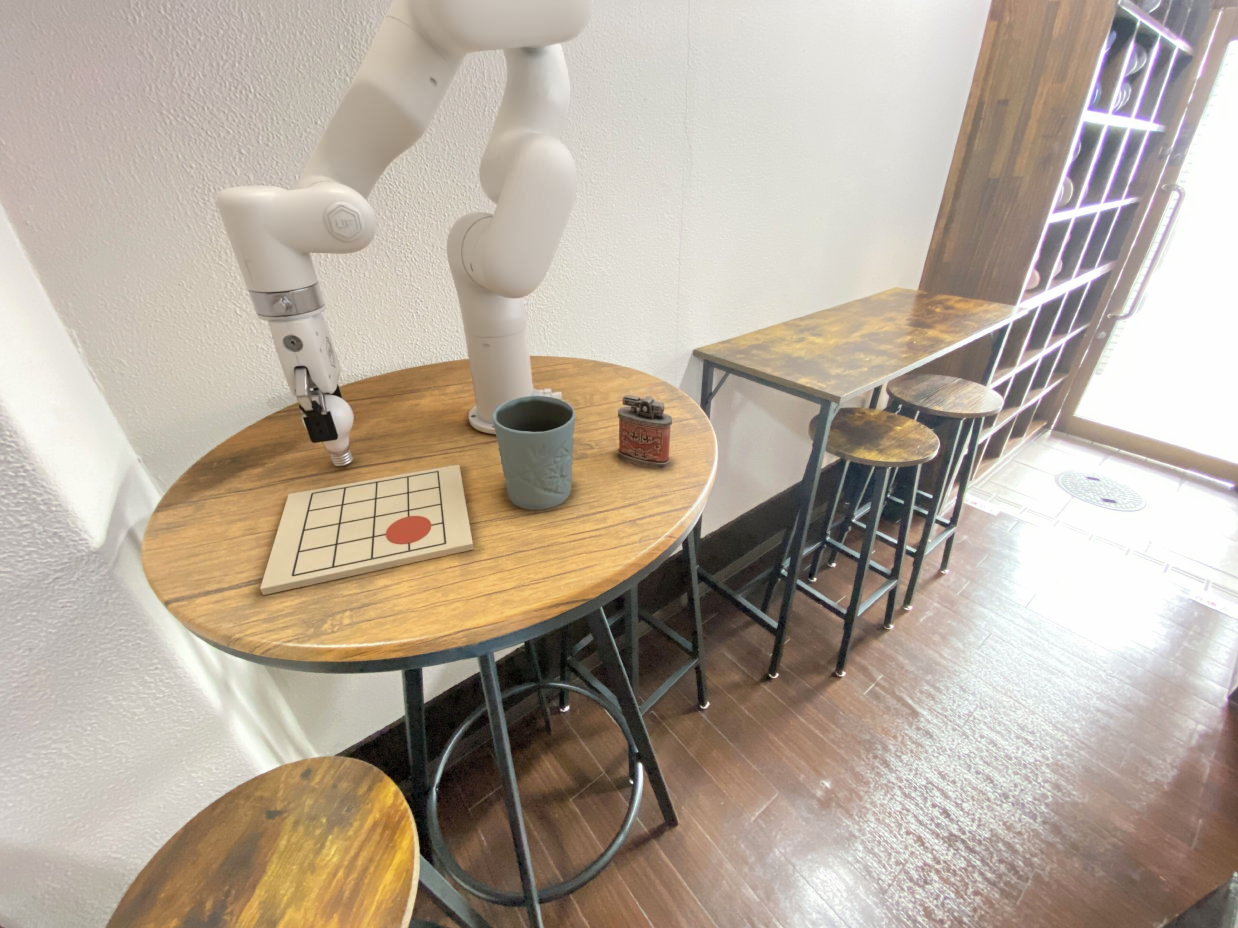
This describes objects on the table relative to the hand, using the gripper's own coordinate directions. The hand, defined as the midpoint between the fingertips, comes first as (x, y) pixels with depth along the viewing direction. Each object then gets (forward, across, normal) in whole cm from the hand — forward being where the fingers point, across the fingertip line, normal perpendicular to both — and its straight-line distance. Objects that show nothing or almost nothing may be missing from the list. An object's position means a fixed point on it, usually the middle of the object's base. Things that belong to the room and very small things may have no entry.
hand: (329, 423), depth 74 cm
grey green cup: (+7, -16, -26) cm, 31 cm away
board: (+7, -16, -5) cm, 18 cm away
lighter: (+7, -13, -42) cm, 45 cm away
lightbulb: (+7, 0, 0) cm, 7 cm away
